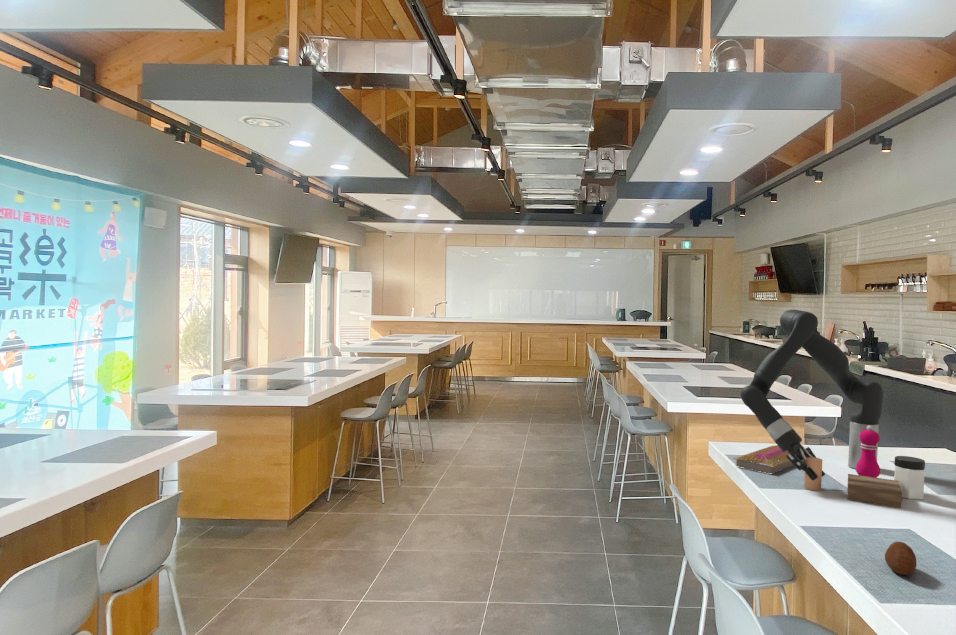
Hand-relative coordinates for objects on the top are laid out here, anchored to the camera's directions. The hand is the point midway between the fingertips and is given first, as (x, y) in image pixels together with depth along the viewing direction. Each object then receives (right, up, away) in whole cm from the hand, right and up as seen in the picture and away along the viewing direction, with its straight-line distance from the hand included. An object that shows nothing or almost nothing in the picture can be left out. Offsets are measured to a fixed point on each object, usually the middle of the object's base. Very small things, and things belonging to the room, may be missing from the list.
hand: (819, 477), depth 205 cm
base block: (+13, -5, -7) cm, 16 cm away
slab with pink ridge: (0, -4, +34) cm, 34 cm away
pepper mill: (+22, -5, +10) cm, 25 cm away
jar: (+27, -5, -4) cm, 28 cm away
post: (-1, -4, +1) cm, 5 cm away
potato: (-16, -6, -62) cm, 64 cm away
